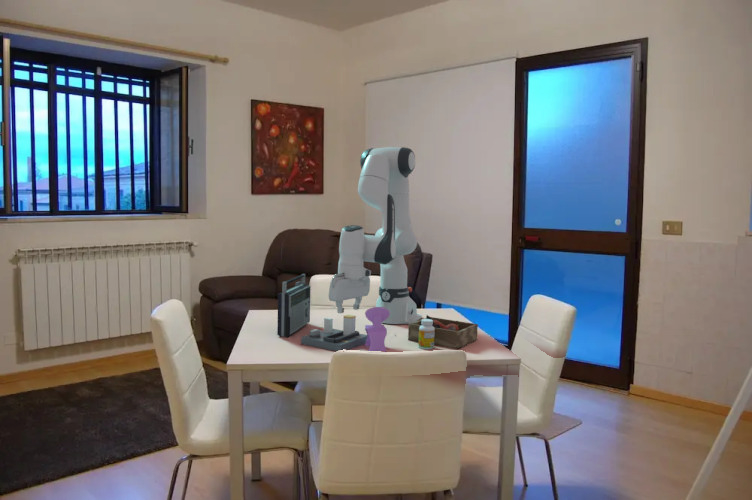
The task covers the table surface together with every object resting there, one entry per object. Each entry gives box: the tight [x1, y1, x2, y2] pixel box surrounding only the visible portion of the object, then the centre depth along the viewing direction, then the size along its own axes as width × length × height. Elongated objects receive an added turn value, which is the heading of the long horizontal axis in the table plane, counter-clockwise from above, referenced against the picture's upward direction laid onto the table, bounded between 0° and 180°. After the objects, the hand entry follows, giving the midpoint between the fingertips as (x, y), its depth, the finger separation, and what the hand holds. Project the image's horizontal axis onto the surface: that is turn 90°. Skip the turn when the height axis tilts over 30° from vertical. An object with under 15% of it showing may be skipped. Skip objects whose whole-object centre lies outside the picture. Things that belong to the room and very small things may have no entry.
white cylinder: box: [342, 314, 357, 336], centre depth 213 cm, size 3×3×7 cm
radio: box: [276, 273, 311, 338], centre depth 229 cm, size 24×5×20 cm, turn 168°
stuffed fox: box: [425, 314, 462, 331], centre depth 221 cm, size 8×11×12 cm
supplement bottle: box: [418, 318, 435, 350], centre depth 209 cm, size 5×5×10 cm
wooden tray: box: [407, 316, 479, 350], centre depth 220 cm, size 16×20×6 cm
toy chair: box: [364, 306, 390, 351], centre depth 205 cm, size 8×9×15 cm
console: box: [300, 317, 367, 352], centre depth 211 cm, size 17×17×8 cm
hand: (348, 311), depth 212 cm, fingers open, 8 cm apart
